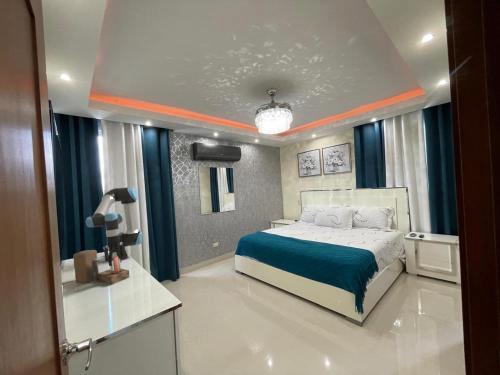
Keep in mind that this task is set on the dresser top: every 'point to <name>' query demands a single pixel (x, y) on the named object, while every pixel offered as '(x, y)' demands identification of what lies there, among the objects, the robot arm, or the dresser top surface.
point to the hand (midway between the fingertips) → (115, 268)
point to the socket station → (108, 272)
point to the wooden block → (84, 265)
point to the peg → (115, 265)
